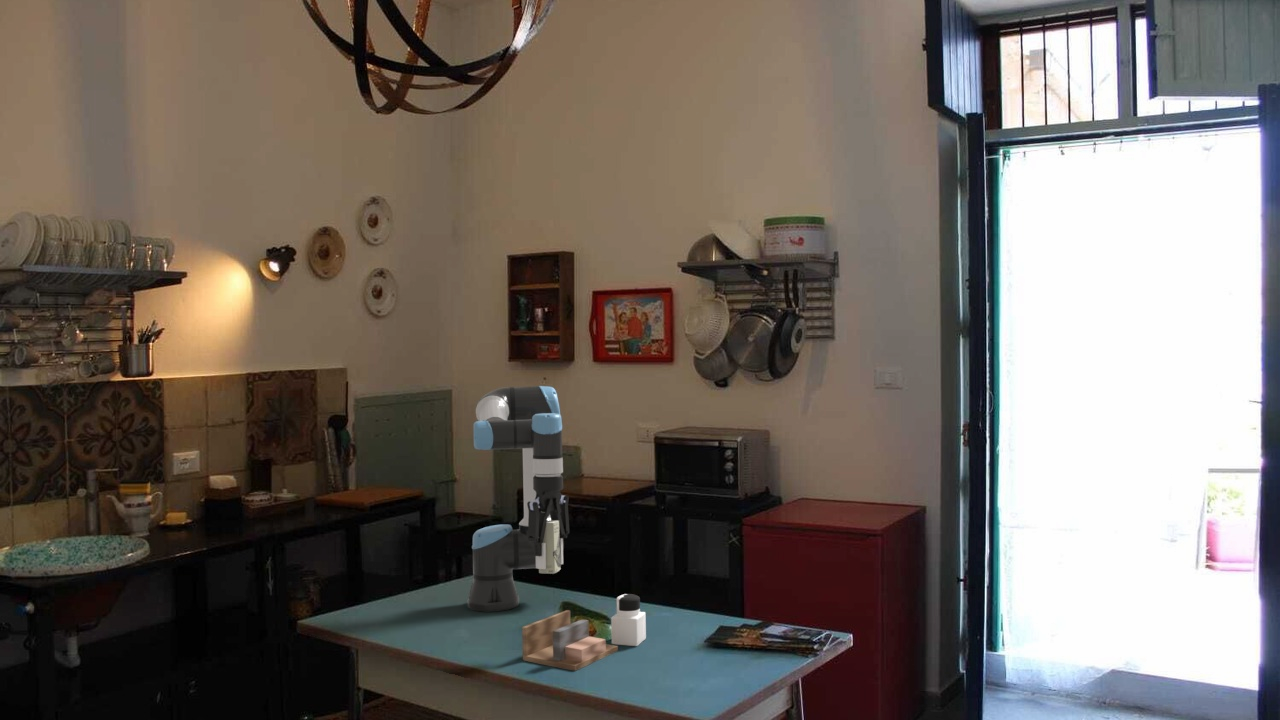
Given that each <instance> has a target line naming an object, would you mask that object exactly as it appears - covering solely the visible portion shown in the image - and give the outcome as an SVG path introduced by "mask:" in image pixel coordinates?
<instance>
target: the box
mask: <svg viewBox="0 0 1280 720" xmlns="http://www.w3.org/2000/svg"><path fill="white" fill-rule="evenodd" d="M543 543H546V569H538V573H539V574H548V575H549V574H550V575H551V574H552V575H554V574H557V573H558V572H560V570H561V569H562V568H561V567H562V565H561V560H560V528H559V521H558V520H547V523H546V528H545V534H544V539H543Z"/></svg>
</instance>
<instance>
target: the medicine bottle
mask: <svg viewBox="0 0 1280 720" xmlns="http://www.w3.org/2000/svg"><path fill="white" fill-rule="evenodd" d="M646 617H647V616H646V611H641V598H640V596H638V595H636V594H632V593H624V594H621V595H619V596H617V597H616V612H615V614H614V615H613V616H611V618H610V620H611V622H610V623H611V625H610V626H611V629H610V631H611V634H610V635H611V645H615V646H630V647H638V646H639V645H641V643H643V642H644V641H645V640H646V639H647V623H646V622H647V620H646V619H647V618H646Z"/></svg>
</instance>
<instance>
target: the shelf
mask: <svg viewBox="0 0 1280 720" xmlns="http://www.w3.org/2000/svg"><path fill="white" fill-rule="evenodd" d="M589 622H590V621H589V620H587V619H584V618H583V619H580V620H579V619H578V620H576V621H575V622H571V610H569V609H566V610H564V611H561V612H558V613H556V614H553V615H550V616H548V617H544V618H542V619H540V620H537V621H534V622H532V623H529V624H526V625H524V626H522V628H521V630H522V631H521V633H522V637H521V638H522V661H525V662H530V663H534V664H540V665H543V666H550V667H553V668H558V669H559V668H560V669H565V670H569V671H575V672H576V671H578V670H581V669H583V668H584V667H586V666H588V665H591V664H593V663H595V662H598V661H599V660H601V659H605V658H606V657H608V656H610V655H613V654H614V653H617V652H618V651H619V645H615V644H610V643H609V644H607V642H606V641H607V640H606V638H601V637H595V636H590V624H589Z"/></svg>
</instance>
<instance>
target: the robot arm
mask: <svg viewBox="0 0 1280 720" xmlns="http://www.w3.org/2000/svg"><path fill="white" fill-rule="evenodd" d="M475 416H476V419H477V421H475V422H474V423H473V446H474V447H473V448H474V449H475V450H480V451H481V450H485V451H490V450H510V449H512V450H513V449H514V450H515V449H516V450H517V449H522V476H523V477H522V481H523V485H522V486H523V518H522V519H521V520H520V521H519V523H518V529H513V527H512V525H511V524H495V525H489V526H485V527H483V528H480V529H477V530H476V531H475V532H474V533H473V535H472V545H471V549H472V578H473V580H472V582H471V587H470V590H469V596H468V597H467V608H468V609H469V610H472V611H476V612H488V613H489V612H490V613H491V612H502V611H507V610H511V609H514V608H517V607H519V606H520V605H519V604H520V596H519V593H517V588H516V584H515V581H514V577H513V575H514V573H513V570H522V569H523V570H527V569H537V570H539V569H546V543H543V539H544V534H545V528H546V523H547V520H558V521H559V528H560V560H561V566H562V565H564V549H565V541H564V540H565V539H567V538H568V535H569V534H570V531H571V530H570V518H569V500H570V496H569V495H563V494H562V493H561V491H562V490H563V489H564V477H563V475H562V474H563V473H564V459H563V423H562V422H563V421H562V420H563V419H562V415H561V410H560V403H559V398H558V393H557V390H556V389H555V388H554V387H552V386H546V385H545V386H544V385H538V386H537V385H534V386H504V387H499V388H496V389H493V390H491V391H489V392H487V393H486V394H484V395H483V396H482V397H481V398H480V399H479V400H478V401H477V403H476V407H475Z"/></svg>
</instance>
